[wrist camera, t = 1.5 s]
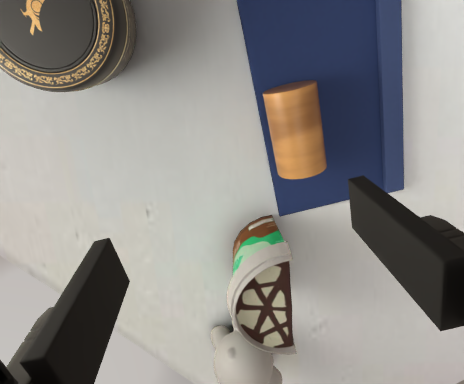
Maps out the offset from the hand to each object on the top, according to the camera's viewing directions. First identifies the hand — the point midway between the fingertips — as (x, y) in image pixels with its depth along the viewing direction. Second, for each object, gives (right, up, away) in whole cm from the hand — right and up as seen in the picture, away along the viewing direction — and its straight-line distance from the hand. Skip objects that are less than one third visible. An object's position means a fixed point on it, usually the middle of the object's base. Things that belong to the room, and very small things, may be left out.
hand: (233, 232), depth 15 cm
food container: (+2, -5, +22) cm, 23 cm away
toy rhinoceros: (+2, -18, +28) cm, 34 cm away
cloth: (+10, +11, +16) cm, 22 cm away
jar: (-13, +17, +12) cm, 24 cm away
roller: (+6, +8, +14) cm, 17 cm away
